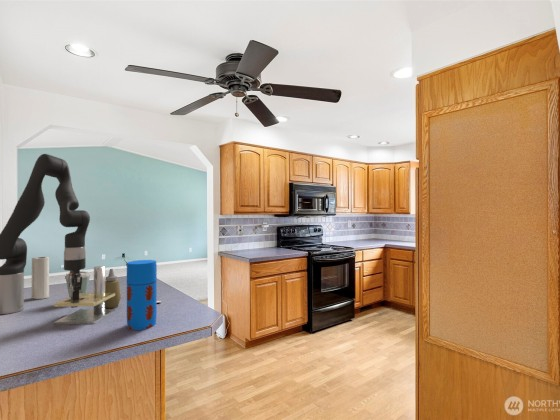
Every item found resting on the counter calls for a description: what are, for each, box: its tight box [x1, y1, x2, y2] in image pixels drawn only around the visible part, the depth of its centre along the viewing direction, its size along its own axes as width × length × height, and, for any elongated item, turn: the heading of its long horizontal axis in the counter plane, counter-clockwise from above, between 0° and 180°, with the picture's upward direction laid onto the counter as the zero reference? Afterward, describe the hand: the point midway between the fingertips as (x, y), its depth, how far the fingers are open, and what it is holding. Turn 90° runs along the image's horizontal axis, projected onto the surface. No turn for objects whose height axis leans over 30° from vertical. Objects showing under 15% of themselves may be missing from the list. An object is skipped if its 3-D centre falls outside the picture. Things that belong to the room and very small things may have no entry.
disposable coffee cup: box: [64, 270, 91, 298], centre depth 151 cm, size 11×11×15 cm
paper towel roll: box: [31, 256, 50, 300], centre depth 160 cm, size 7×6×21 cm
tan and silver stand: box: [53, 265, 116, 325], centre depth 130 cm, size 16×16×21 cm
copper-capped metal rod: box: [70, 273, 80, 309], centre depth 127 cm, size 3×3×14 cm
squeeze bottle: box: [105, 268, 122, 309], centre depth 144 cm, size 8×8×18 cm
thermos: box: [126, 259, 158, 331], centre depth 120 cm, size 11×11×25 cm
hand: (74, 298), depth 126 cm, fingers closed on copper-capped metal rod, 3 cm apart
